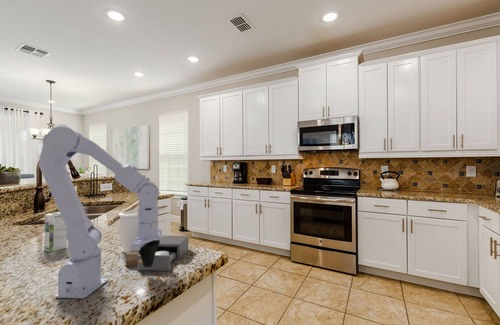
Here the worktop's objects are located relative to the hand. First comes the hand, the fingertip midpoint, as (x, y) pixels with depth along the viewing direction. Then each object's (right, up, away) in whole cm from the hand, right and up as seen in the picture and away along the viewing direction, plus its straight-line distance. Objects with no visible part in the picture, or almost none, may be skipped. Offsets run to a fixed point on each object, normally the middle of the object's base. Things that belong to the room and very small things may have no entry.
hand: (148, 266), depth 71 cm
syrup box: (-48, -4, +23) cm, 53 cm away
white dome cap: (0, -1, +8) cm, 9 cm away
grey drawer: (0, -3, +8) cm, 9 cm away
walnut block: (-9, -3, +9) cm, 13 cm away
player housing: (+1, -3, +17) cm, 18 cm away
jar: (-16, -4, +22) cm, 28 cm away
